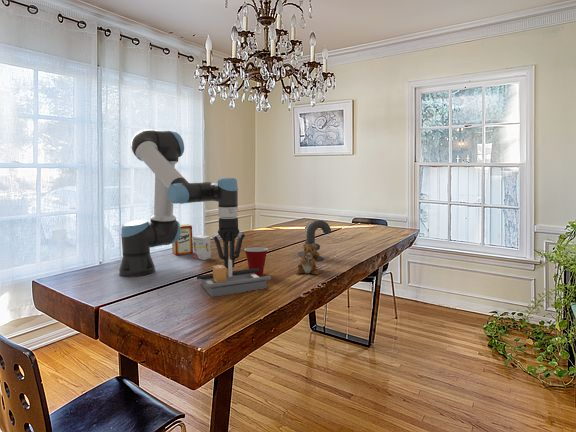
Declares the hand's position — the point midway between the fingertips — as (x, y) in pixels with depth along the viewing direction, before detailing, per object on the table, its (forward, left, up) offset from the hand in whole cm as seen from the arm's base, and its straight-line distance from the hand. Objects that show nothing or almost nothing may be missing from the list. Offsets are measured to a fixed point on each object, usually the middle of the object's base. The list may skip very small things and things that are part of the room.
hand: (229, 275), depth 152 cm
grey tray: (+2, 0, -2) cm, 3 cm away
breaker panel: (+2, 0, -5) cm, 5 cm away
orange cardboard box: (-5, +70, -5) cm, 70 cm away
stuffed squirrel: (+40, +7, -5) cm, 41 cm away
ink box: (+2, +54, -5) cm, 54 cm away
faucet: (+58, +29, -5) cm, 64 cm away
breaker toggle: (-4, 0, -1) cm, 4 cm away
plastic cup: (+17, +13, -5) cm, 21 cm away
